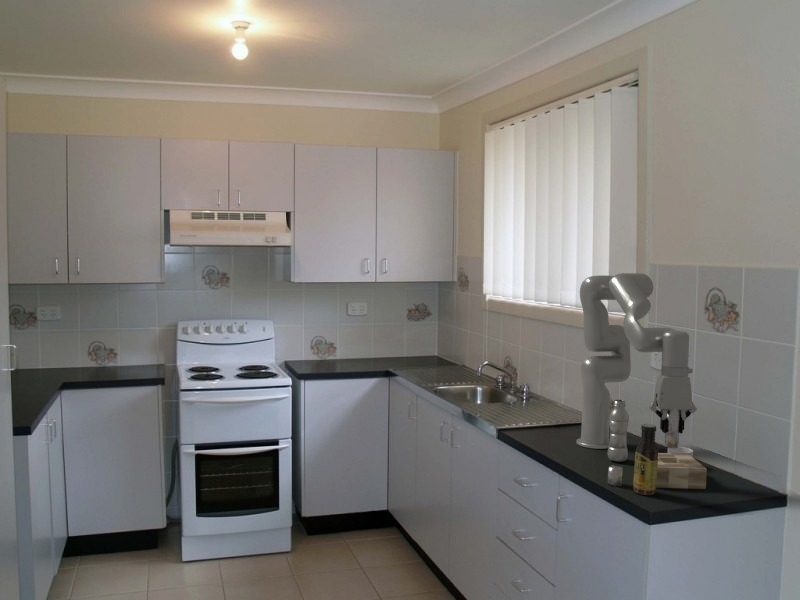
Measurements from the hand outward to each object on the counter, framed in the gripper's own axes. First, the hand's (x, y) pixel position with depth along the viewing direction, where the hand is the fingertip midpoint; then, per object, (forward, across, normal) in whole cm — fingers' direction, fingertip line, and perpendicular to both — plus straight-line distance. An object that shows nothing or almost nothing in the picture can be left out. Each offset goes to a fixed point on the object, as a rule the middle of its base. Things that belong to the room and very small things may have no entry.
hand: (671, 431), depth 231 cm
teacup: (+15, -7, -15) cm, 22 cm away
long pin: (+4, 0, 0) cm, 4 cm away
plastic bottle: (+15, +11, -19) cm, 27 cm away
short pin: (+15, +18, +6) cm, 24 cm away
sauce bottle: (+15, +11, +13) cm, 23 cm away
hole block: (+15, 0, 0) cm, 15 cm away
